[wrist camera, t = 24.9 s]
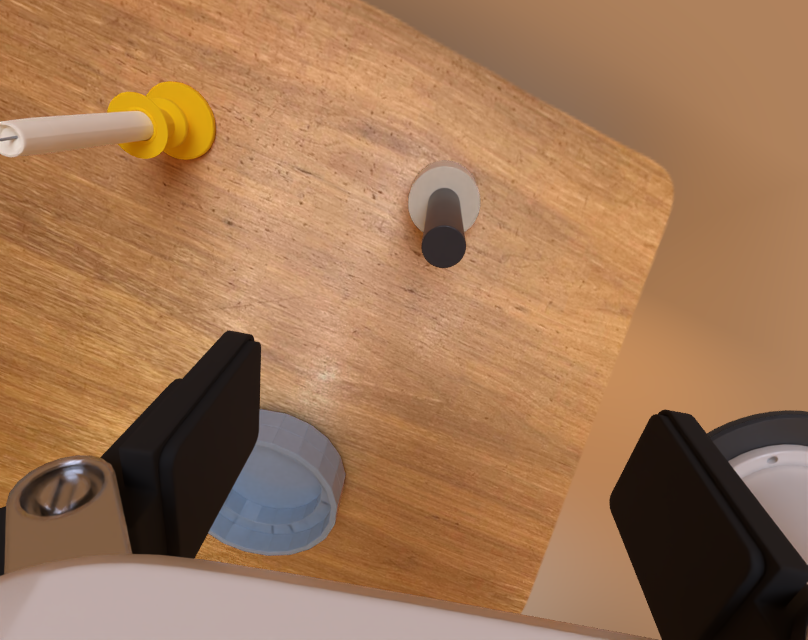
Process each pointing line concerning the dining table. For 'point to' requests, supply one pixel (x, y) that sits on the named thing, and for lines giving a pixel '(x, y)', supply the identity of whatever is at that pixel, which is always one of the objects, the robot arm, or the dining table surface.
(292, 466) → the bowl
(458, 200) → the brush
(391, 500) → the dining table surface
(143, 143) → the candle
